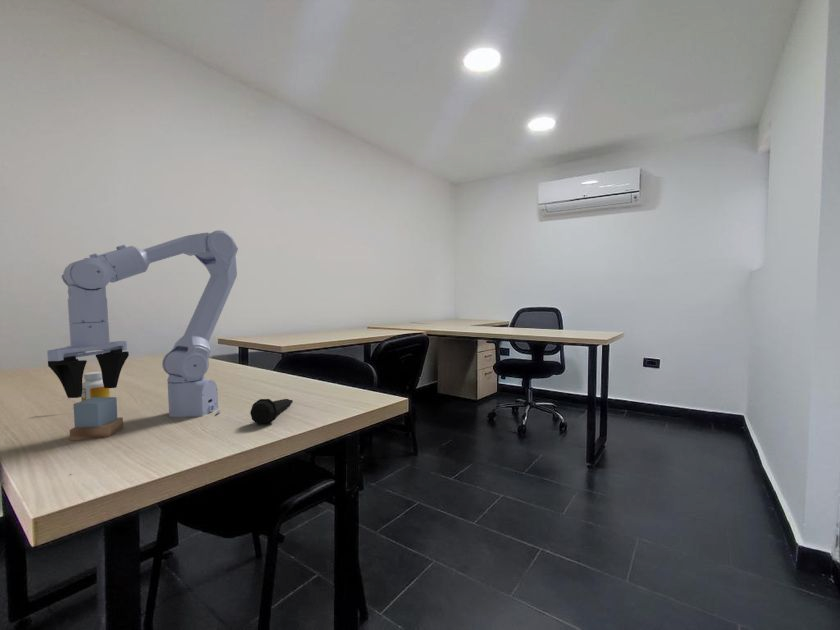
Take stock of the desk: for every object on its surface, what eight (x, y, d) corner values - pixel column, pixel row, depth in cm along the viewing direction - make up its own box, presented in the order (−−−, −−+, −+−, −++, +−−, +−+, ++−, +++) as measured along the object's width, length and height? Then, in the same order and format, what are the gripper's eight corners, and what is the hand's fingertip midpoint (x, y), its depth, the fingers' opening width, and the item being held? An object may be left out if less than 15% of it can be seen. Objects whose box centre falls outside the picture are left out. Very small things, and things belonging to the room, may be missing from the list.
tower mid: (123, 426, 78) (122, 417, 78) (109, 436, 72) (108, 426, 72) (87, 430, 76) (87, 420, 76) (70, 440, 71) (69, 429, 70)
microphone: (285, 415, 100) (249, 431, 80) (278, 394, 100) (242, 405, 80) (304, 408, 100) (274, 423, 80) (298, 387, 100) (266, 396, 80)
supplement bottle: (115, 407, 99) (113, 370, 98) (101, 413, 93) (99, 374, 93) (91, 409, 98) (89, 371, 97) (76, 415, 92) (74, 375, 92)
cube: (117, 419, 76) (116, 397, 76) (98, 427, 72) (97, 403, 72) (94, 419, 76) (93, 397, 76) (74, 427, 72) (73, 403, 72)
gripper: (103, 320, 81) (106, 384, 82) (29, 325, 67) (34, 402, 67) (134, 320, 81) (138, 383, 81) (67, 324, 66) (72, 402, 67)
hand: (93, 392), depth 74 cm, fingers open, 7 cm apart
